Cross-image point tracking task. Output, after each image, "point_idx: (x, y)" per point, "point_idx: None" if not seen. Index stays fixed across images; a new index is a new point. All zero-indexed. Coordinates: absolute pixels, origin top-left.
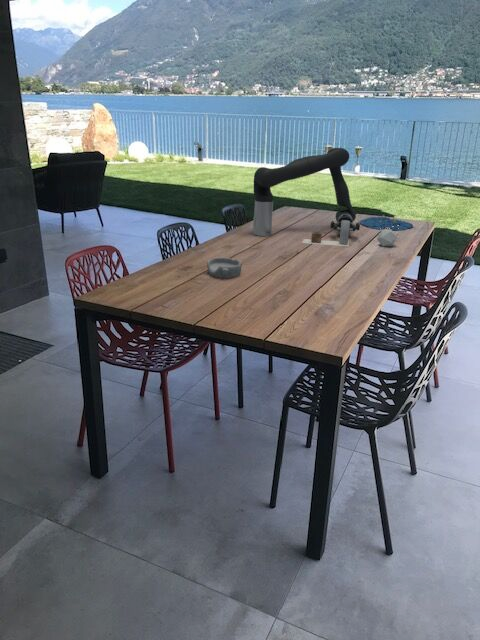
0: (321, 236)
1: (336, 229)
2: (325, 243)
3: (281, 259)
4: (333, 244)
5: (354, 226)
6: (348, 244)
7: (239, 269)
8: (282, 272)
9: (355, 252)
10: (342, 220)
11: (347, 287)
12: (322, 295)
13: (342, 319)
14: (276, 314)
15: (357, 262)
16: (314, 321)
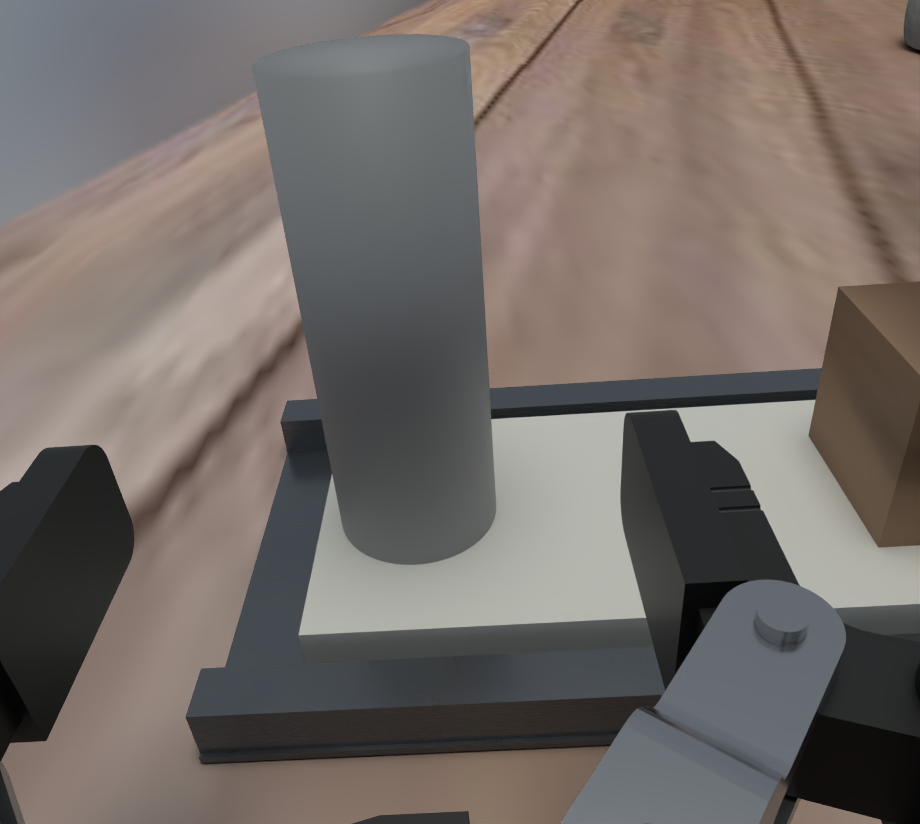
0: (882, 433)
1: (623, 492)
2: (728, 447)
3: (898, 157)
4: (584, 438)
5: (10, 505)
6: (329, 501)
7: (907, 11)
8: (749, 87)
9: (270, 396)
10: (444, 57)
11: None
12: (506, 49)
13: (437, 22)
14: (607, 7)
15: None
16: (505, 12)
